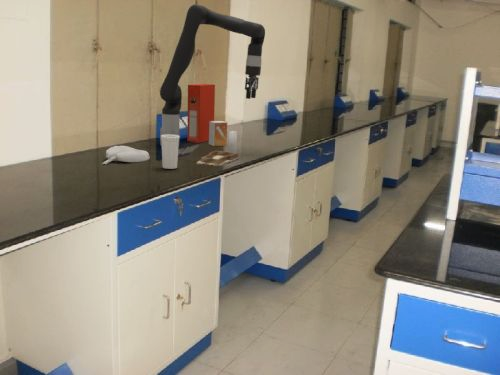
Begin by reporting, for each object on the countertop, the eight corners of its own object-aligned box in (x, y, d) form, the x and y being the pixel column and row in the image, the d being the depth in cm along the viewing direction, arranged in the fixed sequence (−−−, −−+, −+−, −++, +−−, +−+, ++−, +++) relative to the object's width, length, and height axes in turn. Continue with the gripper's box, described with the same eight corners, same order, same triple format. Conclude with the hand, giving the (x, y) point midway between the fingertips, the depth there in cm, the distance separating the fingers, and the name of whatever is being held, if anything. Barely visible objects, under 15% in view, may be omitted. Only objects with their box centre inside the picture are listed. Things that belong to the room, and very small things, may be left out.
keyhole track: (196, 163, 253) (196, 157, 252) (215, 156, 273) (215, 150, 272) (220, 166, 249) (221, 160, 248) (237, 158, 269) (238, 153, 268)
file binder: (186, 141, 312) (187, 84, 304) (201, 138, 327) (203, 83, 319) (199, 143, 308) (200, 85, 301) (213, 139, 324) (215, 84, 316)
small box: (214, 146, 301) (214, 122, 298) (208, 144, 306) (209, 121, 303) (226, 145, 306) (227, 122, 303) (221, 143, 311) (221, 120, 308)
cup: (170, 170, 235) (171, 137, 232) (156, 168, 239) (156, 135, 236) (182, 168, 242) (183, 135, 239) (168, 165, 246) (169, 133, 243)
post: (227, 155, 277) (228, 131, 274) (230, 153, 281) (230, 130, 278) (234, 156, 276) (235, 132, 273) (237, 154, 280) (238, 131, 277)
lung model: (154, 159, 259) (120, 172, 238) (124, 155, 266) (89, 168, 245) (153, 145, 257) (118, 158, 236) (123, 141, 264) (87, 153, 243)
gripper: (250, 64, 279) (247, 97, 283) (241, 64, 266) (239, 98, 269) (264, 66, 277) (261, 98, 281) (256, 65, 264) (253, 99, 267)
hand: (250, 98), depth 275 cm, fingers open, 8 cm apart
